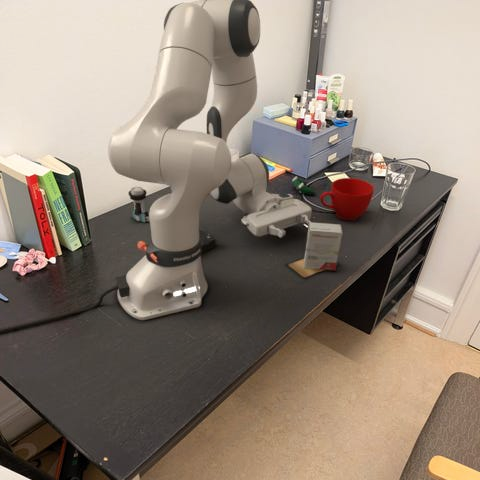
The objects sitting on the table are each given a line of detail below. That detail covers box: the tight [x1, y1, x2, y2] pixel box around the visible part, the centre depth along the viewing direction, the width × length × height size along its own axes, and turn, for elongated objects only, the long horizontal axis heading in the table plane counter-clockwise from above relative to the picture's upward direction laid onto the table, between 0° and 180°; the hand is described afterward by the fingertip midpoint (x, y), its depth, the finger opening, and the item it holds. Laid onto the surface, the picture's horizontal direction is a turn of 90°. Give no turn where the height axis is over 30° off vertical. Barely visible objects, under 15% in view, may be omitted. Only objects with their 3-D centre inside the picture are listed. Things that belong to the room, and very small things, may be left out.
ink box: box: [303, 221, 343, 271], centre depth 118 cm, size 9×5×12 cm, turn 84°
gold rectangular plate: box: [287, 258, 338, 279], centre depth 123 cm, size 12×7×1 cm, turn 124°
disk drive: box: [199, 228, 217, 253], centre depth 129 cm, size 10×3×15 cm
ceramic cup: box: [319, 177, 375, 221], centre depth 141 cm, size 13×17×10 cm
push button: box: [128, 186, 150, 223], centre depth 136 cm, size 7×5×10 cm
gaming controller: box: [291, 175, 315, 196], centre depth 157 cm, size 9×4×6 cm
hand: (296, 230), depth 123 cm, fingers open, 8 cm apart
